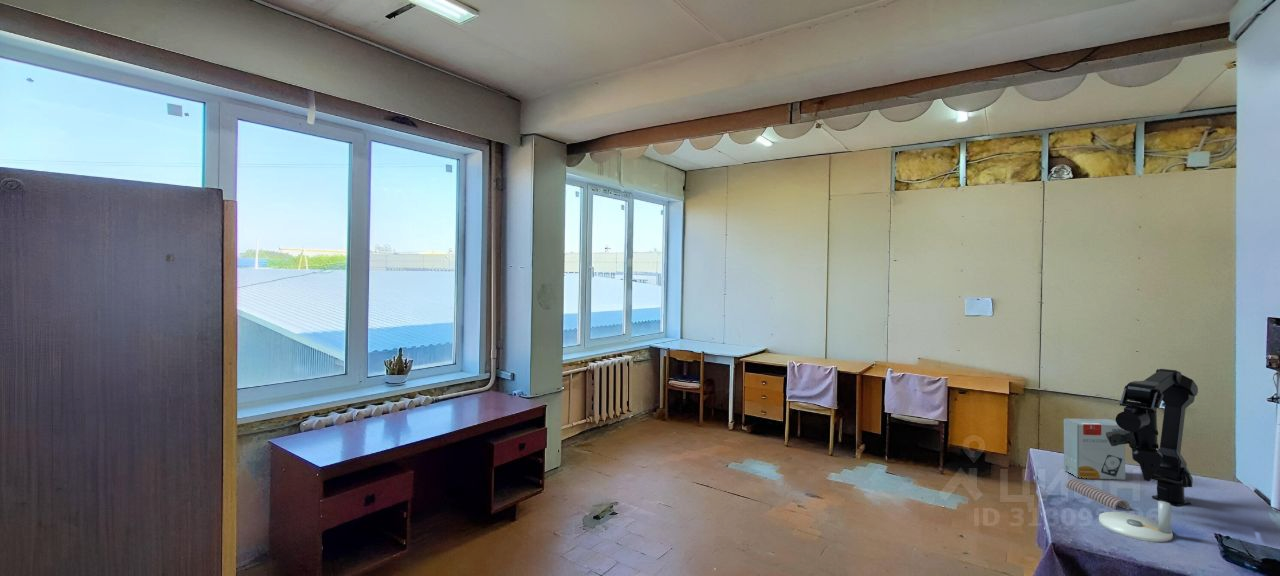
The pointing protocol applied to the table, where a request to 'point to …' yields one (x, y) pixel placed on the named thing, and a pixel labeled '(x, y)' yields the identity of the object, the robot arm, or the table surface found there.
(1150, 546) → the table surface
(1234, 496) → the table surface
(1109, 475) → the hard drive box
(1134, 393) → the robot arm
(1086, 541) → the table surface
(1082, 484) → the coil
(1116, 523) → the desk lamp base
